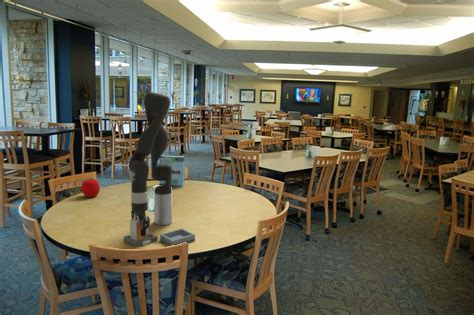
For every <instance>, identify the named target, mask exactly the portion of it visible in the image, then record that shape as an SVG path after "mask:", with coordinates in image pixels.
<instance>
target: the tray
mask: <svg viewBox="0 0 474 315" xmlns="http://www.w3.org/2000/svg"><path fill="white" fill-rule="evenodd" d="M159 240H160V241H161V242H163V243H165V244H166V245H168V246H170V247H171V245H177V244H180V243H183V242H188V243H190V242H193V241H194V242H195V241H196V234H195V233H193V232H191V231H189V230H186V229H184V228H178V229H174V230H171V231H167V232H163V233H160V234H159Z"/></svg>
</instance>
